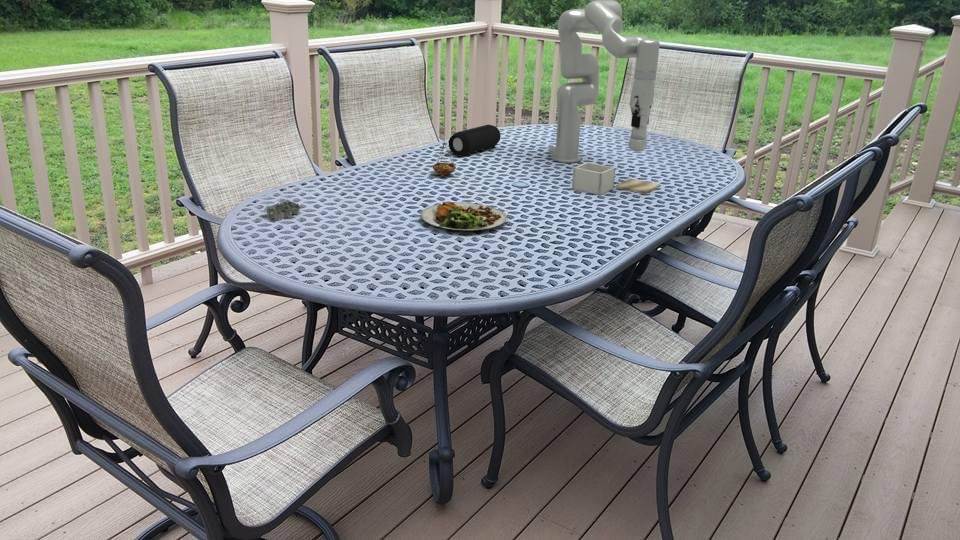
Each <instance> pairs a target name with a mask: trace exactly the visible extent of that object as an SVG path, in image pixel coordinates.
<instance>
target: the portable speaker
mask: <svg viewBox="0 0 960 540" xmlns="http://www.w3.org/2000/svg"><path fill="white" fill-rule="evenodd" d="M500 140H501V131H500V130H499V128H498V127H497V126H495V125H493V124H484V125H481V126H477V127H472V128H469V129H465V130H460V131H457V132H454V133H453V134H452V135H450V137H449V139H448V148H449V150H450V152H451V153H452V154H454V155H456V154H457V156H459V155H463V156H466V155H465V154H467V155H469V153H470V154H473V153H472V152H474V153H476V152H475V151H477V152H480V151H479V150H481V151H483V150H482V149H484V150H487V149H486V148H488V149H491V148H493V147H496V146H497V145H498V143H499V142H500ZM490 147H491V148H490Z"/></svg>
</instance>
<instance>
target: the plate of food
mask: <svg viewBox="0 0 960 540" xmlns="http://www.w3.org/2000/svg"><path fill="white" fill-rule="evenodd" d="M420 217H421V219H422V220H423V221H425V222H426V224H427V223H428V224H430V225H431V226H436V227H439V228H441V229H442V228H443V229H448V230H453V231H455V230H457V231H479V230H486V229H493V228H495V227H499V226H501V225H502V224H504V223H505V222H506V221H507V218H508V216H507V214H506V213H505V212H503V211H502V210H500V209H499V208H497V207H496V208H495V207H493V206H488V205H484V204H478V203H472V202H450V201H449V202H448V201H443V202H442V203H438V204H434V205H430V206H428V207H425V208H424V209H423V210H422V212H420Z"/></svg>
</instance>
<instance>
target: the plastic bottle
mask: <svg viewBox="0 0 960 540" xmlns="http://www.w3.org/2000/svg"><path fill="white" fill-rule="evenodd" d="M636 107H639V106H636ZM636 110H637V111H638V109H636ZM650 115H651V109H650V108H649V106H646V107H645V108H643V109H642V110H641V113H640V117H641V119H640V127H639V128H636V127H631V131H630V133H631V134H630V138H629V141H628V148H629V150H630V151H633V152H636V153H637V152H644V151H645V150H646V148H647V131H648V130H647V129H648V125H649V124H648V119H649V120H650ZM647 124H648V125H647Z"/></svg>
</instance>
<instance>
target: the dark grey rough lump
mask: <svg viewBox="0 0 960 540" xmlns="http://www.w3.org/2000/svg"><path fill="white" fill-rule="evenodd" d="M300 209H302V205H299V204H298V203H296V202H294V201H291V200H289V199H286V200H285V201H284V200H283V201H282V202H277V203H275V204H273V205H267V206H265V207H264V211H266V217H268V219H271V218H270V217H274V218H273V219H274V220H275V219H276V220H275V221H283V220H282V219H284V220H285V218H284V217H286V218H289V217H290V218H292V217H293V215H292V214H298V213H299V211H301V210H300ZM288 216H289V217H288ZM291 216H292V217H291ZM279 219H280V220H279Z"/></svg>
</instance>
